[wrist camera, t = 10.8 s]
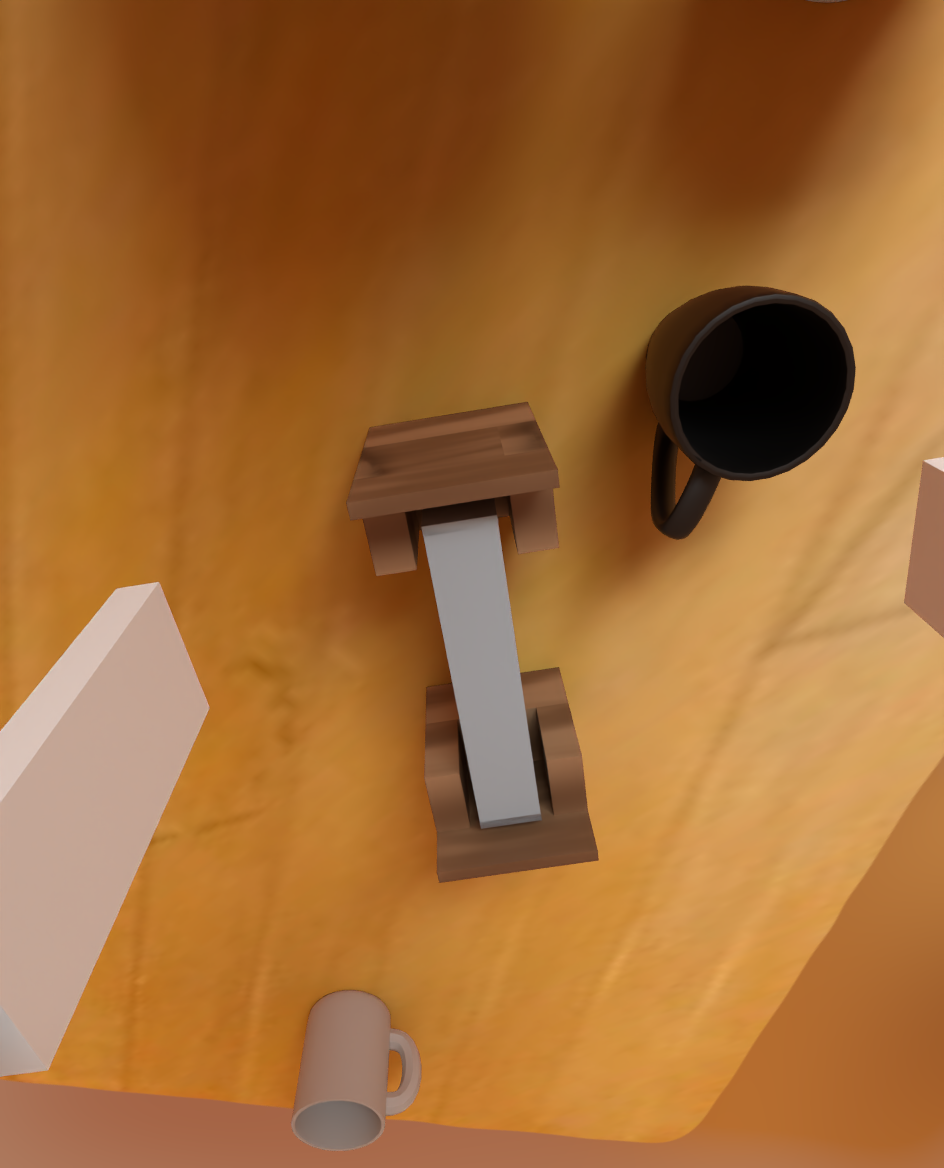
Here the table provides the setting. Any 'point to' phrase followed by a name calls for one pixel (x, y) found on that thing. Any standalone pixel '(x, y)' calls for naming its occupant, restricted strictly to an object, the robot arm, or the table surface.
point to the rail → (482, 658)
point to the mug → (741, 392)
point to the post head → (453, 479)
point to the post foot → (557, 782)
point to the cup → (351, 1072)
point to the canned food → (826, 1)
